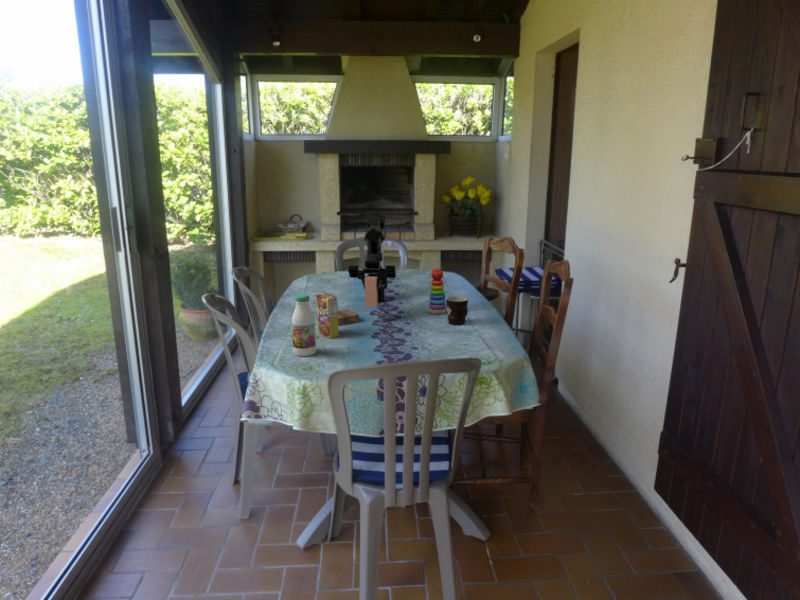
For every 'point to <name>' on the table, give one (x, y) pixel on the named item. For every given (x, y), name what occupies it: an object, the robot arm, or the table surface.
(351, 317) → the walnut plinth
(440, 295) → the stacking toy
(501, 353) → the table surface
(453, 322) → the coffee mug
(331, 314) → the candy box
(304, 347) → the milk bottle
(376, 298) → the terracotta block
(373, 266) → the robot arm
